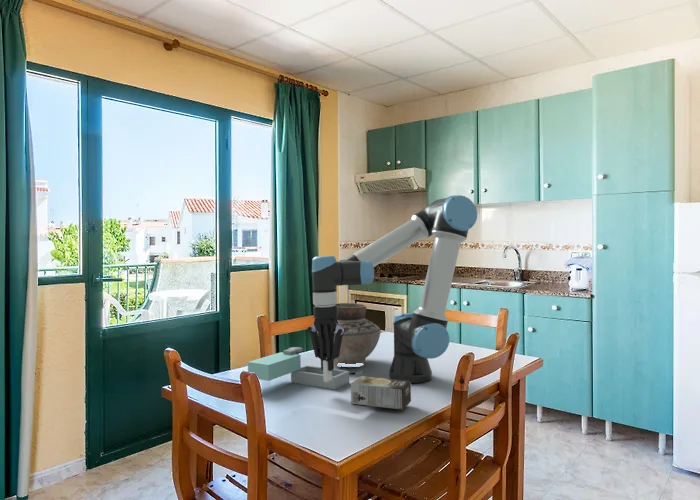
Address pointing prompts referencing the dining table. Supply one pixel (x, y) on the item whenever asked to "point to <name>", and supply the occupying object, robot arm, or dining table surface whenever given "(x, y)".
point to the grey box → (319, 377)
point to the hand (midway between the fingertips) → (327, 380)
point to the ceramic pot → (355, 334)
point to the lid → (276, 364)
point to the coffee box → (381, 392)
